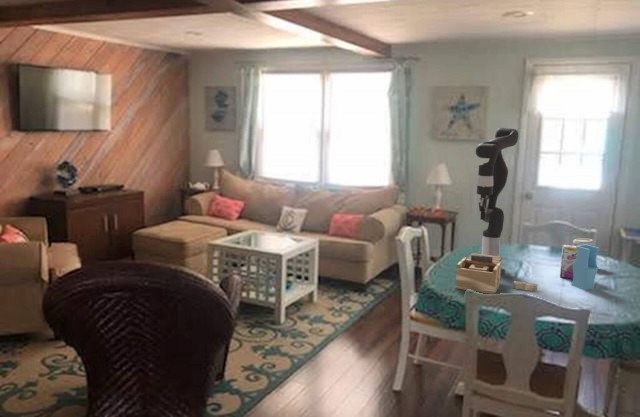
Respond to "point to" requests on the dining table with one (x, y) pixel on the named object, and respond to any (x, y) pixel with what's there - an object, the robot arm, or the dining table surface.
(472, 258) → the toolbox lid
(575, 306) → the dining table surface
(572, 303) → the dining table surface
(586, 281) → the light-blue file holder
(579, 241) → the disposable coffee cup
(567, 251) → the candy bar box
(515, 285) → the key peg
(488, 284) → the toolbox
